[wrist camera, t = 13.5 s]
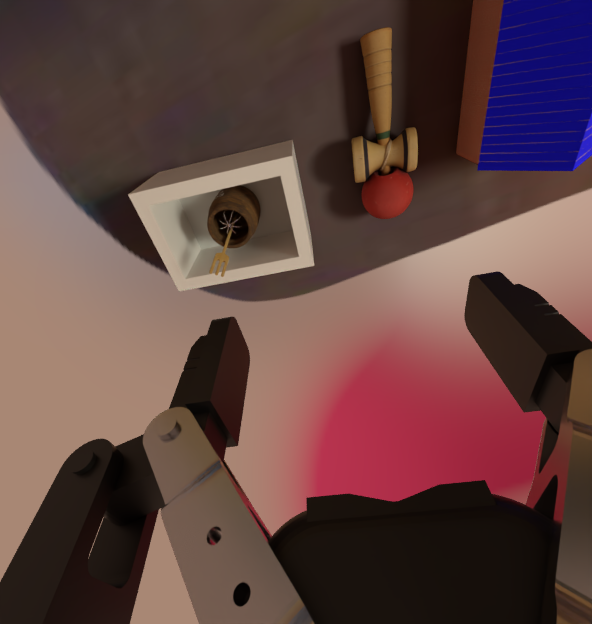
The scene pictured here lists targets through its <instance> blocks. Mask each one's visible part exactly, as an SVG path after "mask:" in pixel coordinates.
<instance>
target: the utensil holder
mask: <svg viewBox="0 0 592 624" xmlns="http://www.w3.org/2000/svg"><path fill="white" fill-rule="evenodd" d="M260 213H261V209H260V203H259V201H258V198H257V197H256V195H255V194H254V193H253V192H252V191H251V190H250V189H248V188H246V187H244V186H241V185H238V186H234V187H229V188H225V189H222V190H221V191H220V192H219V193H218V194H217V196H216V197H215V199H214V200H213V202H212V204H211V206H210V208H209V213H208V220H207V228H208V231H209V234H210V236H211V237H212V239H213V240H214V241H215V242H216V243H218V244H219V245H221V246H223V247H224V248H223V251H222V253H216V254H215V257H214V260H213V263H212V266H211V268H210V271H209V273H210V274H212V272H213V269H214V266H215V264H216V261H217V260H218V261H219V263H218V266H217V269H216V272H215V275H218V273H219V270H220V267H221V264H222V262H225V264H224V267H223V270H222V273H221V277H224V274H225V271H226V267H227V264H228V261H229V256H227V255H226V254H225V252H226V249H227V248H239V247H241V246H243V245H245V244H246V243H247V242H248V241H249V240H250V238H251V237H252V236H253V234H254V233H255V231H256V229H257V227H258V223H259V219H260Z"/></svg>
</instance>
